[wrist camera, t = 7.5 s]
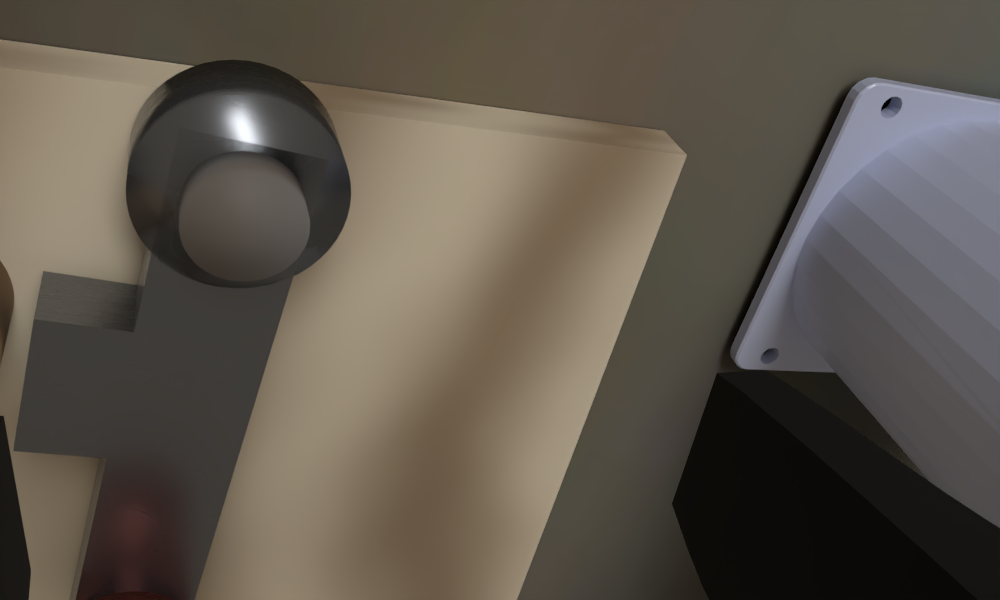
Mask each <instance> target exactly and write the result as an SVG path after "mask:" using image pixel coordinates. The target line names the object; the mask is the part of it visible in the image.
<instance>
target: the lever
mask: <svg viewBox="0 0 1000 600" xmlns="http://www.w3.org/2000/svg"><path fill="white" fill-rule="evenodd" d="M233 151H251V152H257V153H261V154H265V155H268V156H270V157H272V158H275V159H276V160H278V161H280V162H281V163H283V164H284V165H285V166H287V167H288V168H289V169H290V170H291V171H292V172H293V173H294V175H295V176H296V177H297V178H298V180H299V182H300V184H301V186H302V189H303V191H304V195H305V200H306V204H307V209H308V213H309V218H310V234H309V238H308V241H307V244H306V246H305V248H304V250H303V252H302V253H301V255H300V256H299V257H298V259H297V260H296V261H295V262H294V263H293V264H292V265H290V266H289V267H288V268H286V269H285V270H283V271H282V272H280V273H278V274H276V275H274V276H271V277H268V278H265V279H261V280H256V281H231V280H227V279H222V278H220V277H217V276H214V275H212V274H210V273H208V272H206V271H205V270H203V269H202V268H200V267H199V266H198V265H197V264H196V263H195V262H194V261H193V260H192V259H191V258H190V257H189V255H188V254H187V253H186V251H185V249H184V247H183V245H182V242H181V239H180V234H179V197H180V192H181V189H182V187H183V185H184V183H185V181H186V179H187V178H188V176H189V175H190V174H191V173H192V171H193V170H194V169H195V168H196V167H198V166H199V165H200V164H201V163H203V162H205V161H206V160H208V159H210V158H212V157H214V156H217V155H220V154H223V153H227V152H233ZM350 202H351V181H350V176H349V172H348V168H347V164H346V161H345V158H344V155H343V152H342V148H341V145H340V142H339V139H338V135H337V132H336V129H335V127H334V124H333V121H332V119H331V117H330V115H329V113H328V111H327V109H326V108H325V107H324V105H323V104H322V102H321V101H320V100H319V98H318V97H317V96H316V95H315V94H314V93H313V92H312V91H311V90H310V89H309V88H308V87H306V86H305V85H304V84H303V83H301V82H300V81H299V80H297V79H296V78H294V77H292V76H291V75H289V74H287V73H285V72H283V71H281V70H279V69H277V68H274V67H271V66H268V65H265V64H261V63H256V62H251V61H242V60H221V61H214V62H208V63H203V64H200V65H197V66H194V67H190V68H188V69H186V70H184V71H182V72H180V73H177V74H176V75H174V76H173V77H171V78H170V79H168V80H166V81H165V82H164V83H163V84H162V85H160V86H159V87H158V88H157V89H156V90H155V91H154V92H153V93H152V94H151V95H150V96H149V98H148V99H147V100H146V101H145V103H144V104H143V106H142V107H141V109H140V111H139V113H138V115H137V117H136V119H135V122H134V124H133V128H132V132H131V136H130V145H129V156H128V168H127V180H126V203H127V207H128V212H129V216H130V219H131V221H132V224H133V227H134V229H135V230H136V232H137V234H138V236H139V238H140V239H141V241H142V242H143V243H144V245H145V249H144V254H143V259H142V263H141V268H140V273H139V277H138V282H137V285H133V284H127V283H120V282H113V281H107V280H100V279H93V278H87V277H80V276H73V275H67V274H60V273H53V272H47V271H43V275H42V280H41V285H40V290H39V295H38V300H37V305H36V310H35V315H34V320H33V327H32V333H31V339H30V346H29V352H28V359H27V365H26V371H25V378H24V384H23V391H22V397H21V403H20V410H19V416H18V422H17V429H16V435H15V442H14V448H13V451H18V452H31V453H44V454H56V455H69V456H82V457H95V458H100V459H99V464H98V468H97V473H96V478H95V482H94V487H93V492H92V496H91V501H90V506H89V510H88V515H87V520H86V524H85V529H84V534H83V538H82V543H81V548H80V552H79V557H78V562H77V566H76V571H75V575H74V580H73V585H72V589H71V594H70V599H69V600H195V597H196V594H197V590H198V587H199V584H200V581H201V577H202V574H203V571H204V567H205V564H206V561H207V558H208V554H209V551H210V548H211V545H212V541H213V538H214V535H215V532H216V528H217V525H218V522H219V518H220V515H221V512H222V509H223V505H224V502H225V499H226V496H227V492H228V489H229V486H230V482H231V479H232V476H233V473H234V469H235V466H236V463H237V460H238V456H239V453H240V450H241V446H242V443H243V440H244V437H245V433H246V430H247V427H248V424H249V420H250V417H251V414H252V410H253V407H254V404H255V401H256V397H257V394H258V391H259V388H260V384H261V381H262V378H263V374H264V371H265V368H266V365H267V361H268V358H269V355H270V352H271V348H272V345H273V342H274V338H275V335H276V332H277V329H278V325H279V322H280V319H281V316H282V312H283V309H284V306H285V302H286V299H287V296H288V293H289V289H290V286H291V283H292V280H293V276H295V275H297V274H299V273H301V272H302V271H304V270H306V269H307V268H309V267H310V266H312V265H313V264H314V263H315V262H317V261H318V260H319V259H320V258H321V257H322V256H323V255H324V254H325V253H326V252H327V251H328V250H329V249H330V248H331V247H332V245H333V244H334V243H335V241H336V240H337V238H338V237H339V235H340V233H341V231H342V230H343V227H344V225H345V222H346V220H347V217H348V213H349V209H350Z"/></svg>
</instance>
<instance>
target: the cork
mask: <svg viewBox="0 0 1000 600" xmlns="http://www.w3.org/2000/svg"><path fill="white" fill-rule="evenodd" d="M13 308H14V290H13V285H12V282H11V279H10V276H9V274H8V272H7V270H6V268H5V267H4V265H3V264H2V262H1V261H0V365H1V361H2V356H3V352H4V348H5V343H6V339H7V335H8V330H9V326H10V321H11V317H12V313H13Z"/></svg>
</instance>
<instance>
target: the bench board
mask: <svg viewBox="0 0 1000 600" xmlns="http://www.w3.org/2000/svg"><path fill="white" fill-rule="evenodd" d="M190 67H194V66H189V65H182V64H175V63H168V62H160V61H153V60H146V59H139V58H131V57H124V56H117V55H109V54H102V53H95V52H88V51H80V50H73V49H66V48H59V47H51V46H44V45H37V44H29V43H22V42H15V41H8V40H0V261H1V262H2V264H3V265H4V267H5V268H6V270H7V272H8V274H9V276H10V279H11V282H12V285H13V290H14V308H13V313H12V317H11V321H10V326H9V330H8V335H7V339H6V343H5V348H4V352H3V356H2V361H1V365H0V416H4V420H5V426H6V432H7V437H8V443H9V449H10V454H11V460H12V466H13V471H14V477H15V482H16V488H17V494H18V499H19V505H20V511H21V516H22V522H23V528H24V533H25V539H26V545H27V550H28V556H29V562H30V567H31V578H30V590H29V600H69V599H70V594H71V589H72V585H73V580H74V575H75V571H76V566H77V562H78V557H79V552H80V548H81V543H82V538H83V534H84V529H85V524H86V520H87V515H88V510H89V506H90V501H91V496H92V492H93V487H94V482H95V478H96V473H97V468H98V464H99V459H100V458H95V457H82V456H69V455H56V454H44V453H31V452H18V451H13V448H14V442H15V435H16V429H17V422H18V416H19V410H20V403H21V397H22V391H23V384H24V378H25V371H26V365H27V359H28V352H29V346H30V339H31V333H32V327H33V320H34V315H35V310H36V305H37V300H38V295H39V290H40V285H41V280H42V275H43V271H47V272H53V273H60V274H67V275H73V276H80V277H87V278H93V279H100V280H107V281H113V282H120V283H127V284H133V285H137V282H138V277H139V273H140V268H141V263H142V259H143V254H144V249H145V245H144V243H143V242H142V241H141V239H140V238H139V236H138V234H137V232H136V230H135V229H134V227H133V224H132V221H131V219H130V216H129V212H128V207H127V203H126V180H127V168H128V156H129V145H130V136H131V132H132V128H133V124H134V122H135V119H136V117H137V115H138V113H139V111H140V109H141V107H142V106H143V104H144V103H145V101H146V100H147V99H148V98H149V96H150V95H151V94H152V93H153V92H154V91H155V90H156V89H157V88H158V87H159V86H160V85H162V84H163V83H164V82H165V81H166V80H168V79H170V78H171V77H173V76H174V75H176V74H177V73H180V72H182V71H184V70H186V69H188V68H190ZM300 82H301V83H303V84H304V85H305V86H306V87H308V88H309V89H310V90H311V91H312V92H313V93H314V94H315V95H316V96H317V97H318V98H319V100H320V101H321V102H322V104H323V105H324V107H325V108H326V109H327V111H328V113H329V115H330V117H331V119H332V121H333V124H334V127H335V129H336V132H337V135H338V139H339V142H340V145H341V148H342V152H343V155H344V158H345V161H346V164H347V168H348V172H349V176H350V181H351V202H350V209H349V213H348V217H347V220H346V222H345V225H344V227H343V230H342V231H341V233H340V235H339V237H338V238H337V240H336V241H335V243H334V244H333V245H332V247H331V248H330V249H329V250H328V251H327V252H326V253H325V254H324V255H323V256H322V257H321V258H320V259H319V260H318V261H317V262H315V263H314V264H313V265H312V266H310V267H309V268H307V269H306V270H304V271H302V272H301V273H299V274H297V275H295V276H293V280H292V283H291V286H290V289H289V293H288V296H287V299H286V302H285V306H284V309H283V312H282V316H281V319H280V322H279V325H278V329H277V332H276V335H275V338H274V342H273V345H272V348H271V352H270V355H269V358H268V361H267V365H266V368H265V371H264V374H263V378H262V381H261V384H260V388H259V391H258V394H257V397H256V401H255V404H254V407H253V410H252V414H251V417H250V420H249V424H248V427H247V430H246V433H245V437H244V440H243V443H242V446H241V450H240V453H239V456H238V460H237V463H236V466H235V469H234V473H233V476H232V479H231V482H230V486H229V489H228V492H227V496H226V499H225V502H224V505H223V509H222V512H221V515H220V518H219V522H218V525H217V528H216V532H215V535H214V538H213V541H212V545H211V548H210V551H209V554H208V558H207V561H206V564H205V567H204V571H203V574H202V577H201V581H200V584H199V587H198V590H197V594H196V597H195V600H517V598H518V595H519V593H520V590H521V587H522V585H523V582H524V580H525V577H526V574H527V572H528V569H529V567H530V564H531V561H532V559H533V556H534V554H535V551H536V548H537V546H538V543H539V540H540V538H541V535H542V533H543V530H544V527H545V525H546V522H547V520H548V517H549V514H550V512H551V509H552V506H553V504H554V501H555V499H556V496H557V493H558V491H559V488H560V486H561V483H562V480H563V478H564V475H565V472H566V470H567V467H568V465H569V462H570V459H571V457H572V454H573V452H574V449H575V446H576V444H577V441H578V439H579V436H580V433H581V431H582V428H583V425H584V423H585V420H586V418H587V415H588V412H589V410H590V407H591V405H592V402H593V399H594V397H595V394H596V391H597V389H598V386H599V384H600V381H601V378H602V376H603V373H604V371H605V368H606V365H607V363H608V360H609V357H610V355H611V352H612V350H613V347H614V344H615V342H616V339H617V337H618V334H619V331H620V329H621V326H622V324H623V321H624V318H625V316H626V313H627V310H628V308H629V305H630V303H631V300H632V297H633V295H634V292H635V290H636V287H637V284H638V282H639V279H640V276H641V274H642V271H643V269H644V266H645V263H646V261H647V258H648V256H649V253H650V250H651V248H652V245H653V242H654V240H655V237H656V235H657V232H658V229H659V227H660V224H661V222H662V219H663V216H664V214H665V211H666V209H667V206H668V203H669V201H670V198H671V195H672V193H673V190H674V188H675V185H676V182H677V180H678V177H679V175H680V172H681V169H682V167H683V164H684V161H685V159H686V156H687V155H686V154H685V153H684V152H683V151H682V149H681V148H680V147H679V146H678V145H677V144H676V143H675V142H674V141H673V140H672V139H671V138H670V137H669V136H668V135H667V133H666V132H665V131H662V130H655V129H648V128H640V127H633V126H626V125H619V124H611V123H604V122H597V121H590V120H582V119H575V118H568V117H560V116H553V115H546V114H539V113H531V112H524V111H517V110H510V109H502V108H495V107H488V106H480V105H473V104H466V103H459V102H451V101H444V100H437V99H430V98H422V97H415V96H408V95H400V94H393V93H386V92H379V91H371V90H364V89H357V88H350V87H342V86H335V85H328V84H320V83H313V82H306V81H300ZM179 234H180V239H181V242H182V245H183V247H184V249H185V251H186V253H187V254H188V255H189V257H190V258H191V259H192V260H193V261H194V262H195V263H196V264H197V265H198V266H199V267H200V268H202V269H203V270H205V271H206V272H208V273H210V274H212V275H214V276H217V277H220V278H222V279H227V280H231V281H256V280H261V279H265V278H268V277H271V276H274V275H276V274H278V273H280V272H282V271H283V270H285V269H286V268H288V267H289V266H290V265H292V264H293V263H294V262H295V261H296V260H297V259H298V257H299V256H300V255H301V253H302V252H303V250H304V248H305V246H306V244H307V241H308V238H309V234H310V218H309V213H308V209H307V204H306V200H305V195H304V191H303V189H302V186H301V184H300V182H299V180H298V178H297V177H296V176H295V175H294V173H293V172H292V171H291V170H290V169H289V168H288V167H287V166H285V165H284V164H283V163H281V162H280V161H278V160H276V159H275V158H272V157H270V156H268V155H265V154H261V153H257V152H251V151H233V152H227V153H223V154H220V155H217V156H214V157H212V158H210V159H208V160H206V161H205V162H203V163H201V164H200V165H199V166H198V167H196V168H195V169H194V170H193V171H192V173H191V174H190V175H189V176H188V178H187V179H186V181H185V183H184V185H183V187H182V189H181V192H180V197H179Z"/></svg>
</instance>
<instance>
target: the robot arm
mask: <svg viewBox="0 0 1000 600" xmlns="http://www.w3.org/2000/svg"><path fill="white" fill-rule="evenodd" d="M891 97H892V98H891ZM889 98H891V102H890V103H889V105H888V106H887V107H886V108H885V109H883V110H882V111H881V108H882V105H883V104H884V103H885V101H886V100H888V99H889ZM768 349H769V351H768V352H766V353H764V352H765V351H766V350H768ZM763 353H764V354H763ZM730 355H731V358H732V359H733V361H734V362H735V363H736V365H737V366H738V367H740V368H742V369H749V370H763V371H746V372H729V373H717V375H716V378H715V381H714V383H713V386H712V389H711V392H710V395H709V398H708V401H707V404H706V407H705V410H704V413H703V415H702V418H701V421H700V424H699V427H698V430H697V433H696V436H695V439H694V442H693V445H692V447H691V450H690V453H689V456H688V459H687V462H686V465H685V468H684V471H683V474H682V476H681V479H680V482H679V485H678V488H677V491H676V494H675V497H674V500H673V503H672V505H673V508H674V511H675V513H676V516H677V519H678V522H679V525H680V528H681V531H682V534H683V536H684V539H685V542H686V545H687V548H688V550H689V553H690V556H691V558H692V561H693V563H694V566H695V568H696V571H697V573H698V576H699V579H700V581H701V584H702V586H703V588H704V590H705V592H706V594H707V596H708V598H709V600H1000V99H994V98H989V97H983V96H977V95H972V94H966V93H960V92H954V91H949V90H943V89H937V88H932V87H926V86H920V85H915V84H909V83H903V82H898V81H892V80H886V79H881V78H875V77H874V78H866V79H864V80H861V81H859V82H858V83H857V84H856V85H855V86H853V87H852V89H851V90H850V92H849V93H848V95H847V97H846V99H845V101H844V103H843V105H842V108H841V110H840V112H839V114H838V116H837V118H836V121H835V123H834V125H833V127H832V129H831V131H830V134H829V136H828V138H827V140H826V142H825V144H824V147H823V149H822V151H821V153H820V155H819V157H818V160H817V162H816V164H815V166H814V168H813V170H812V173H811V175H810V177H809V179H808V181H807V183H806V186H805V188H804V190H803V192H802V194H801V197H800V199H799V201H798V203H797V205H796V207H795V210H794V212H793V214H792V216H791V218H790V220H789V223H788V225H787V227H786V229H785V231H784V233H783V236H782V238H781V240H780V242H779V244H778V246H777V249H776V251H775V253H774V255H773V257H772V259H771V262H770V264H769V266H768V268H767V270H766V272H765V275H764V277H763V279H762V281H761V283H760V285H759V288H758V290H757V292H756V294H755V296H754V299H753V301H752V303H751V305H750V307H749V309H748V312H747V314H746V316H745V318H744V320H743V322H742V325H741V327H740V329H739V331H738V333H737V335H736V338H735V340H734V342H733V344H732V346H731V350H730ZM765 370H776V371H803V372H831V373H836V374H837V375H838V376H839V377H840V378H841V379H842V381H843V382H844V383H845V384H846V385H847V386H848V388H849V389H850V390H851V391H852V392H853V393H854V395H855V396H856V397H857V398H858V399H859V400H860V401H861V403H862V404H863V405H864V406H865V407H866V408H867V410H868V411H869V412H870V413H871V414H872V415H873V416H874V418H875V419H876V420H877V421H878V422H879V423H880V425H881V426H882V427H883V428H884V429H885V430H886V431H887V433H888V434H889V435H890V436H891V437H892V438H893V440H894V441H895V442H896V443H897V444H898V445H899V446H900V448H901V449H902V450H903V451H904V452H905V453H906V455H907V456H908V457H909V458H910V459H911V460H912V461H913V463H914V464H915V465H916V466H917V467H918V468H919V470H920V471H921V472H922V473H923V474H924V475H925V476H926V478H927V479H928V480H929V481H930V482H929V481H928V480H926V479H925V478H923V477H922V476H920V475H919V474H917V473H916V472H915V471H913V470H912V469H910V468H909V467H907V466H906V465H904V464H903V463H901V462H900V461H899V460H897V459H896V458H894V457H893V456H891V455H890V454H889V453H887V452H886V451H884V450H883V449H881V448H880V447H878V446H877V445H876V444H874V443H873V442H871V441H870V440H868V439H867V438H866V437H864V436H863V435H861V434H860V433H858V432H857V431H856V430H854V429H853V428H851V427H850V426H848V425H847V424H846V423H844V422H843V421H841V420H840V419H838V418H837V417H835V416H834V415H833V414H831V413H830V412H828V411H827V410H825V409H824V408H822V407H821V406H819V405H818V404H816V403H815V402H814V401H812V400H811V399H809V398H808V397H806V396H805V395H803V394H802V393H800V392H799V391H797V390H796V389H794V388H792V387H791V386H789V385H788V384H786V383H785V382H783V381H781V380H780V379H778V378H776V377H775V376H773V375H772V374H770V373H768V372H766V371H765ZM30 578H31V567H30V562H29V556H28V550H27V545H26V539H25V533H24V528H23V522H22V516H21V511H20V505H19V499H18V494H17V488H16V482H15V477H14V471H13V466H12V460H11V454H10V449H9V443H8V437H7V432H6V426H5V420H4V416H0V600H29V590H30Z"/></svg>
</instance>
